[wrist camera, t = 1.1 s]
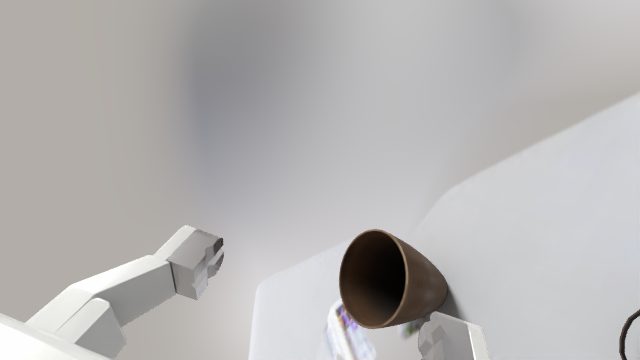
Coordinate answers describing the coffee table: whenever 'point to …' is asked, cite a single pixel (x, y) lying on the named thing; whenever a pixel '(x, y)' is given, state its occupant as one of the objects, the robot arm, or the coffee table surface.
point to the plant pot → (388, 281)
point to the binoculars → (624, 332)
